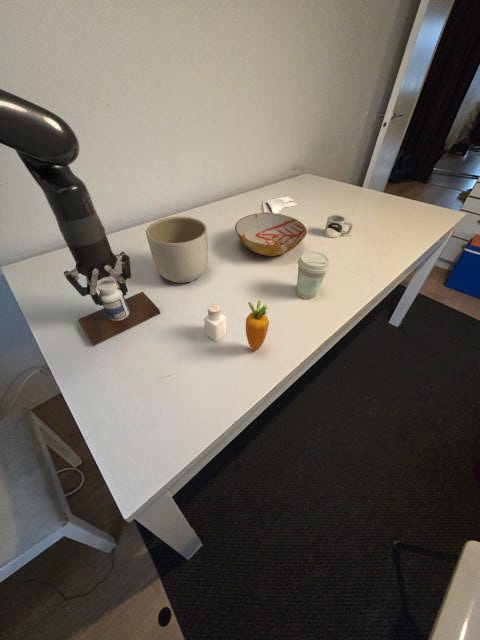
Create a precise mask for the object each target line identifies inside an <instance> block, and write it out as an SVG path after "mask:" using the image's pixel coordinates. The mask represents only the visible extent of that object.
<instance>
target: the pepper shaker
mask: <svg viewBox="0 0 480 640" xmlns="http://www.w3.org/2000/svg"><path fill="white" fill-rule="evenodd" d="M204 329H205V335H206V336H207V337H208V338H210V339H212V340H213V341H214V342H218V341H220V340H221V339H222V338H223V337H224V336H226V335H227V317H226V315H224V314H223V313H222V305H221V303H219V302H211V303H209V304H208V305H207V314H206V315H205V317H204Z"/></svg>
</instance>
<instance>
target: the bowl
mask: <svg viewBox="0 0 480 640" xmlns="http://www.w3.org/2000/svg"><path fill="white" fill-rule="evenodd" d="M234 230H235V234H236V235H237V237H238V239H239V240H240V241H241V243H242V244H243V245H244V246H245V247H246V248H248V250H250V251H252V252H254V253H256V254H258V255H261V256H266V257H275V256H279V255H280V256H281V255H284V254H287V253H289V252H290V251H292V250H294V249H295V248H296V247H297V246H298V245H299V244H301V242H302V241H303V240H304V239H305V237H306V235H307V233H308V232H307V227H306V226H305V225H304V224H303V223H302V222H301V221H300V220H298V219H296V218H294V217H292V216H288V215H286V214H281V213H278V214H274V213H264V212H259V213H253V214H249V215H246V216H244V217H242V218H240V219H238V221H236V223H235V225H234Z"/></svg>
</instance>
